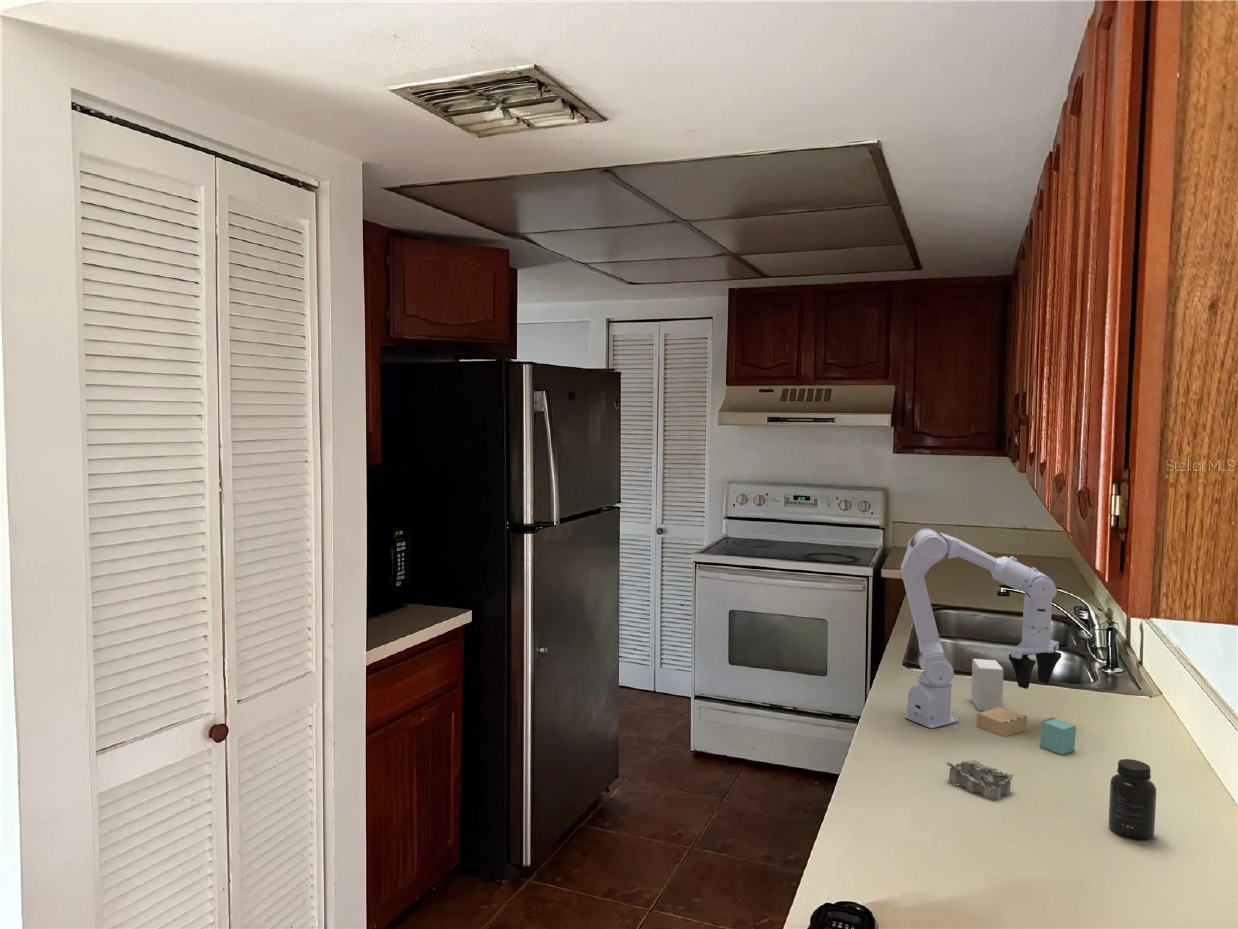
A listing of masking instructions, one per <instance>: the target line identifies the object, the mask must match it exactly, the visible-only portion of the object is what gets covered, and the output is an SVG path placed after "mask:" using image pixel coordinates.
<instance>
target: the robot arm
mask: <svg viewBox="0 0 1238 929" xmlns="http://www.w3.org/2000/svg"><path fill="white" fill-rule="evenodd" d="M939 534H940V535H939ZM945 557H946V558H947V559H948V560H949V559H954V558H960V559H963V560H966V561H968V562H971V563H973V564H974V565H976V566H979V567H981V568H983V569H986V570H988V571H990V574H991V576H992V579H993V580H995V581H998V582H1000V583H1002V584H1003V585H1006V586H1009V587H1010V588H1012V589H1014V590H1016V591H1018V592H1024V602H1023V611H1022V612H1023V613H1022V614H1023V615H1022V632H1021V642H1020V643H1019V644H1018V645H1016V646H1015V647H1012V648H1011V653H1009V654H1008V659H1009V661H1010V663H1011V665H1012V668H1013V670H1014V673H1015V678H1016V683H1017V685H1018V687H1019V688H1022V689H1025V690H1028V689H1029V688H1030V687H1029V686H1030V684H1031V683H1030V682H1031V677H1032V672H1033V669H1034V667H1035V665H1036V663H1037V665H1036V666H1037V678H1038V681H1039V682H1040V683H1043V684H1049V683H1050V681H1051V678H1052V676H1053V673H1054V670H1055V667H1056V666H1057V664H1058V662H1059V661H1060V660H1061V658H1062V653H1061V652H1058V651H1059V647H1060V642H1059V641H1057V640H1052V639H1051V633H1052V632H1051V630H1052V628H1051V627H1052V615H1053V614H1052V612H1053V611H1052V610H1053V607H1052V606H1053V605H1052V604H1053V599H1054V598H1055V597H1056V596H1057V592H1058V589H1057V586H1056V584H1055V582H1054V581H1053V579H1052V578H1051V577H1049V576H1047V575H1046V574H1044V572H1043V573H1042V572H1041V571H1040V570H1038V569H1037V568H1036V567H1033V566H1032V567H1028V566H1027V565H1024V564H1023V563H1021V562H1019V561H1018V559H1017V558H1016V557H1015V556H1012V555H1011V556H1010V557H1008V556H1007V555H1006V556H1000V557H995V556H993V555H991V554H988V553H986V552H985V551H982V550H981V549H978V548H976V547H975V546H973V545H971V544H968V543H966V542H965V541H963V540H961V539H959V538H957V537H954V536H951V535H949V534H946V533H943V532H939V533H938V532H937V531H936V530H934V529H931V528H921V529H919V530H918V531H916V532H915V534H914V535H913V536H912V537H911V538H910V539H909V540H908V543H907V548H906V551H905V554H904V557H903V560H902V563H901V565H900V573H901V576H902V578H901V579H902V581H903V585H904V589H905V592H906V593H905V594H906V597H907V601H908V605H909V609H910V612H911V617H912V621H913V624H914V628H915V632H916V637H917V640H918V648H919V657H918V666H919V667H920V669H921V670H922V672H921V673H920V675H919V676H918V680H917V683H916V684H915V685H912V687H910V689H909V690H908V694H907V710H906V714H905V715H903V717H904V718H905V719H908V720H910V721H912V722H914V723H917V724H919V725H922V726H924V727H927V728H929V729H935V728H939V727H942V726H947V725H951V724H954V723H958V722H959V718H956V717H955V716H954V717H953V716H951V709H952V708H951V706H952V705H951V704H952V680H953V678H954V676H955V672H954V668H953V666H952V664H951V663H950V662H949V661H948V659H947V658H946V654H945V651H944V647H943V645H942V643H941V639H940V638H941V637H940V634H939V630H938V627H937V624H936V619H935V616H934V611H933V608H932V605H931V604H932V602H931V600H930V596H929V593H928V588H927V584H926V580H925V575H926V574H927V572H928V571H929V569H931V567H932V566H934V565H935V564H936V563H938V562H939V561H941V560H942V559H944V558H945ZM1033 655H1035V658H1036V660H1034V659H1031V658H1030V657H1029V656H1033Z"/></svg>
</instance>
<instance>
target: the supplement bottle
mask: <svg viewBox="0 0 1238 929" xmlns="http://www.w3.org/2000/svg"><path fill="white" fill-rule="evenodd" d="M1117 762H1118V763H1117V769H1116V770H1117V771H1116V772H1117V773H1116V774H1114V775H1113V776H1112V777H1111V779H1110V781H1109V782H1110V786H1109V803H1108V804H1109V805H1108V826H1109V829H1110V830H1111V831H1112V832H1113V833H1114V834H1116V835H1118V836H1120V837H1122V838H1126V839H1128V838H1129V840H1133V841H1148V840H1151V839H1153V837H1154V835H1155V827H1156V807H1157V788H1156V786H1155V783H1153V781H1151V778H1152V774H1151V771H1152V770H1151V766H1150V765H1149V764H1147V763H1145V762H1143V761H1140V760H1136V759H1131V758H1124V759H1120V760H1118V761H1117Z"/></svg>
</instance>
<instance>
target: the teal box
mask: <svg viewBox="0 0 1238 929" xmlns="http://www.w3.org/2000/svg"><path fill="white" fill-rule="evenodd" d="M1076 730H1077V725H1075V724H1072V723H1069V722H1066V721H1064V720H1061V719H1057V718H1056V717H1050V718H1046V719H1043V720H1041V722H1040V736H1039V737H1040V741H1039V747H1040V748H1043V749H1046V750H1048V751H1052V752H1054V753H1056V754H1058V755H1066V754H1068V753H1069V754H1070V753H1073V752H1074V751H1075V749H1076V748H1075V746H1076V732H1077V731H1076Z"/></svg>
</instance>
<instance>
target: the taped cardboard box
mask: <svg viewBox="0 0 1238 929" xmlns="http://www.w3.org/2000/svg"><path fill="white" fill-rule="evenodd" d="M1027 725H1028V716H1027V715H1022V714H1019V713H1017V712H1014V711H1011V710H1008V709H1005V708H1003V707H1002V708H1000V707H999V708H995V709H991V710H988V711H981V712H977V714H976V727H978V728H980V729H983V730H985V731H989V732H991V733H993V734H996V735H999V736H1000V737H1007V736H1008V737H1009V736H1011V735H1014V734H1017V733H1021V732H1025V731H1027V730H1028V729H1027V727H1028V726H1027Z"/></svg>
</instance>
